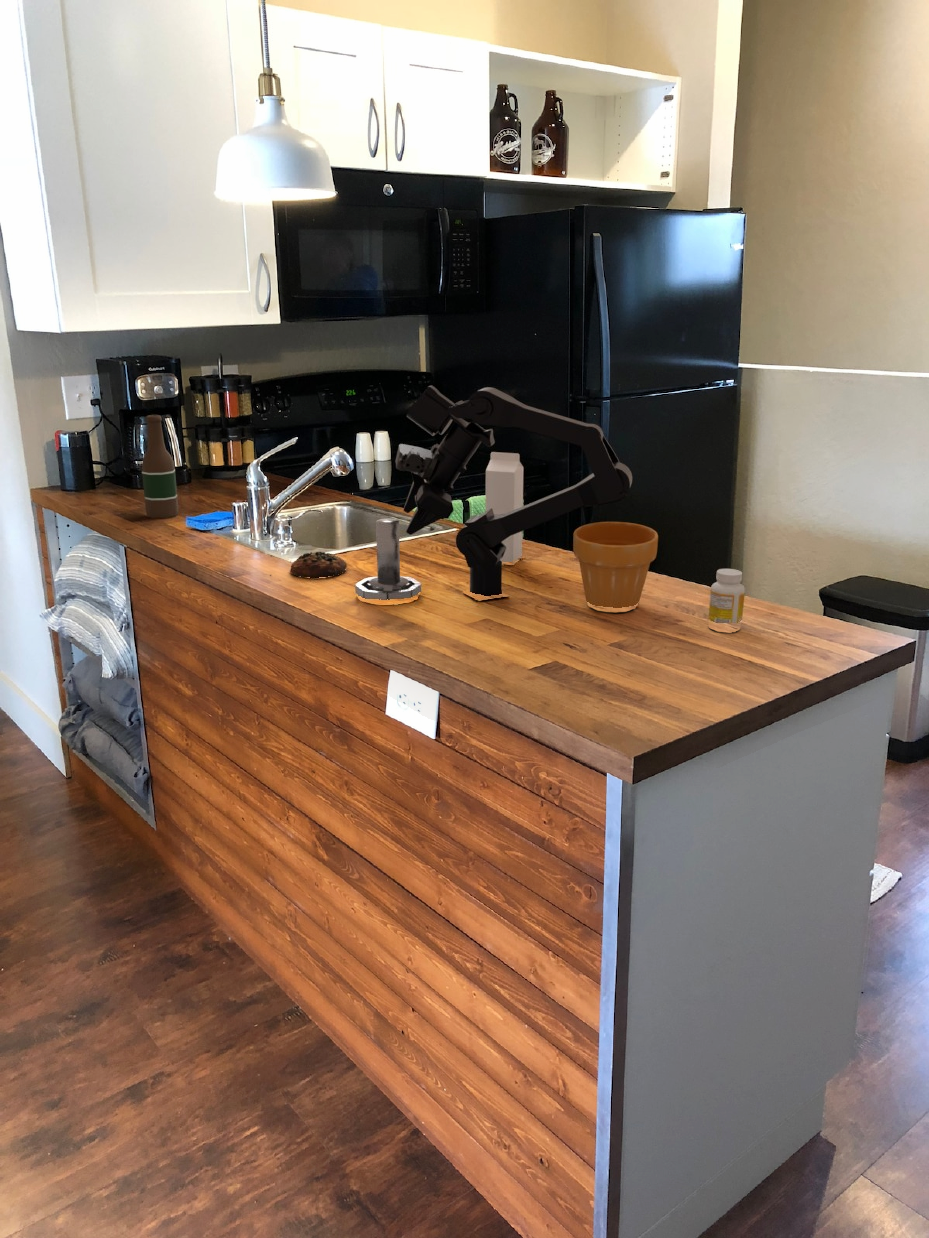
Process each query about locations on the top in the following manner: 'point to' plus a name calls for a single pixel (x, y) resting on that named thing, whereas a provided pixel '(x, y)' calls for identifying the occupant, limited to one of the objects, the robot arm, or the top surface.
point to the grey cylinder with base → (388, 558)
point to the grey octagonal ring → (400, 594)
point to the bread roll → (318, 565)
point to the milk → (505, 495)
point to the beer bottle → (158, 474)
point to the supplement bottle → (727, 597)
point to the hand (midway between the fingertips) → (406, 522)
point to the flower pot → (614, 561)
